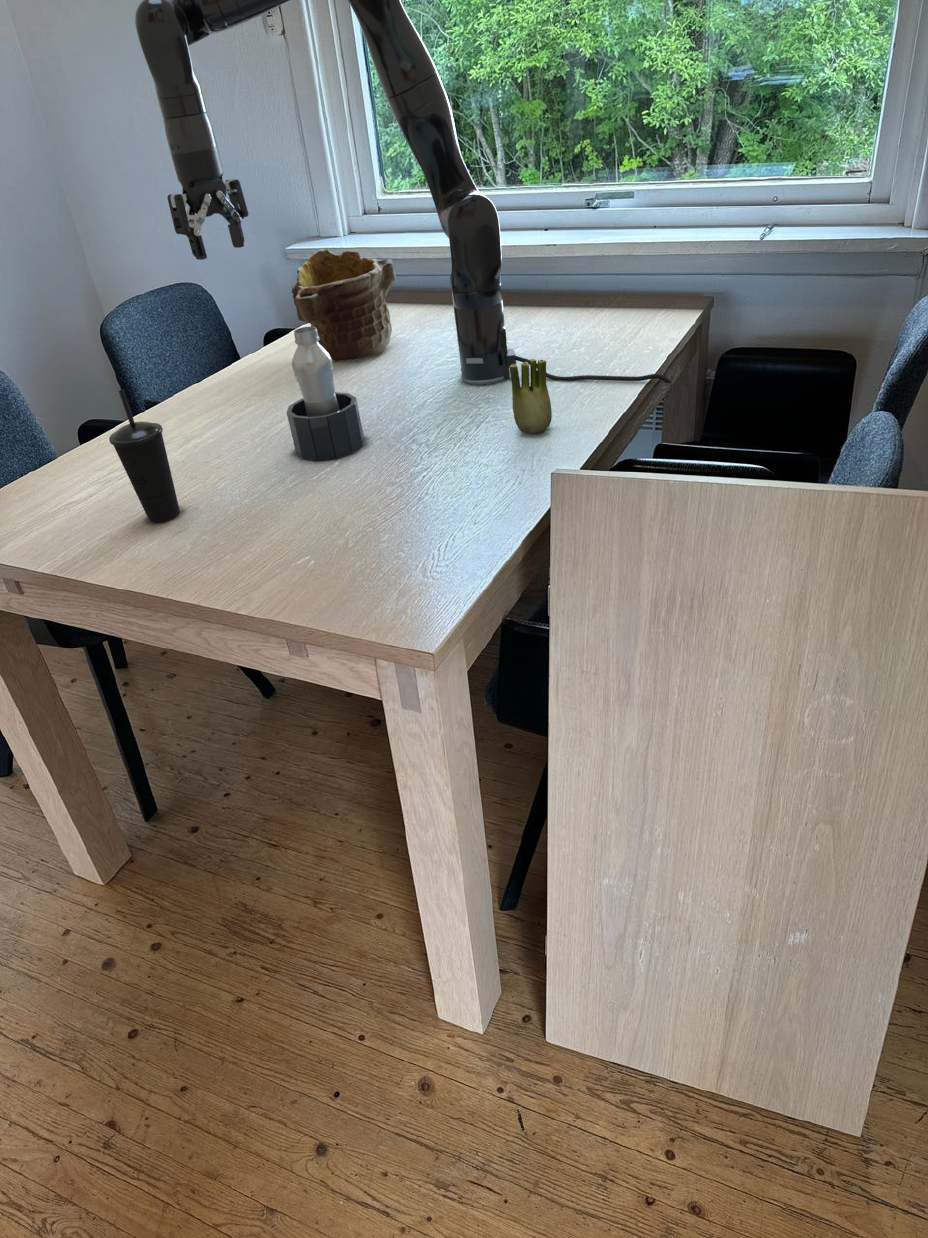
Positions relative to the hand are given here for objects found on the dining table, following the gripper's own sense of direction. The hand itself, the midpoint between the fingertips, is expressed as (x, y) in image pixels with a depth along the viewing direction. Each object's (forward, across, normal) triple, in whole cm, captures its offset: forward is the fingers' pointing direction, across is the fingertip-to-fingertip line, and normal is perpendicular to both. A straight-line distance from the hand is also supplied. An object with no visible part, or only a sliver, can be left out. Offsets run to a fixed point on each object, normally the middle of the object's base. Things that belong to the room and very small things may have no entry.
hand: (220, 252), depth 150 cm
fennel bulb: (+30, +11, -54) cm, 63 cm away
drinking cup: (+30, -36, -16) cm, 50 cm away
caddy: (+30, -6, -23) cm, 38 cm away
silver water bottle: (+30, -6, -23) cm, 38 cm away
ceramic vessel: (+30, +35, +8) cm, 47 cm away
